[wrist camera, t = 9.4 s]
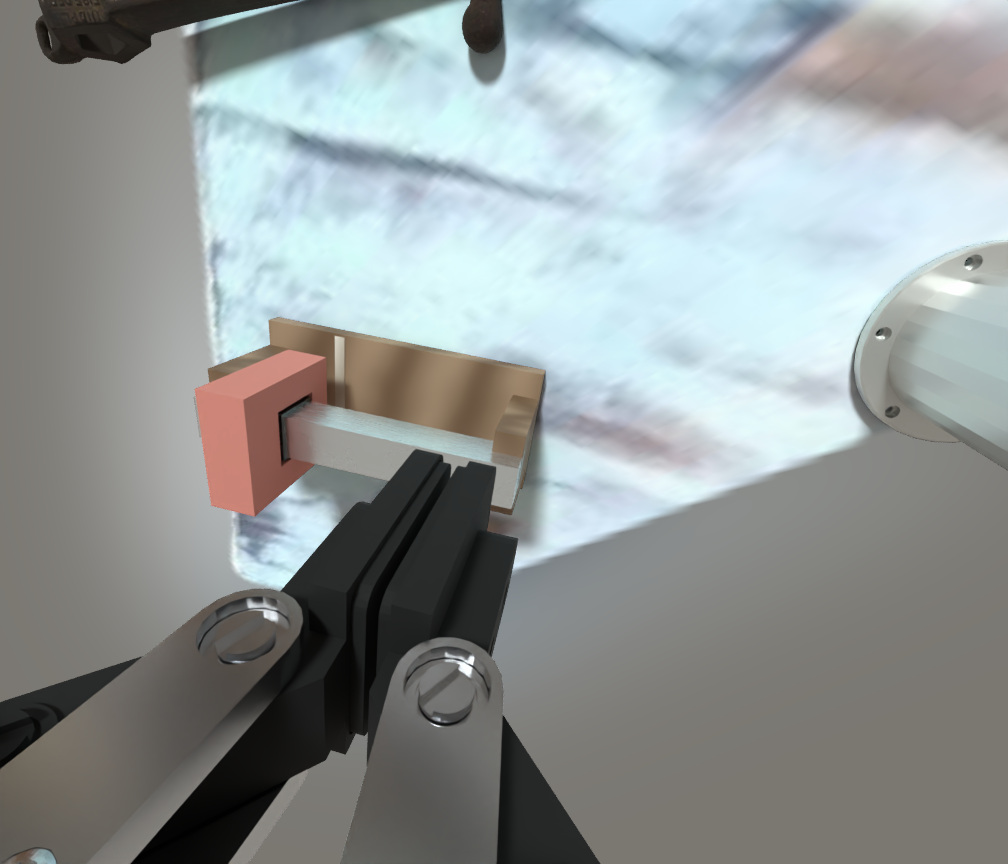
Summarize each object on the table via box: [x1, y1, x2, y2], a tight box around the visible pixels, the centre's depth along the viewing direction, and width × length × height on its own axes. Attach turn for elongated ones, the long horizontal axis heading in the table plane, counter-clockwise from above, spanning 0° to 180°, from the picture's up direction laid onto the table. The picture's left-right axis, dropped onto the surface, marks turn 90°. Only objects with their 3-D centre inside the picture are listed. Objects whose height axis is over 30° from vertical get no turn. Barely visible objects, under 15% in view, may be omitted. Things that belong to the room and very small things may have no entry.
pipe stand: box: [208, 317, 545, 515], centre depth 36 cm, size 22×10×8 cm, turn 81°
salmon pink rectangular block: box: [195, 350, 327, 516], centre depth 33 cm, size 3×8×9 cm, turn 171°
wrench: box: [36, 0, 502, 64], centre depth 29 cm, size 5×5×30 cm
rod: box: [194, 396, 525, 509], centre depth 32 cm, size 22×3×3 cm, turn 81°
